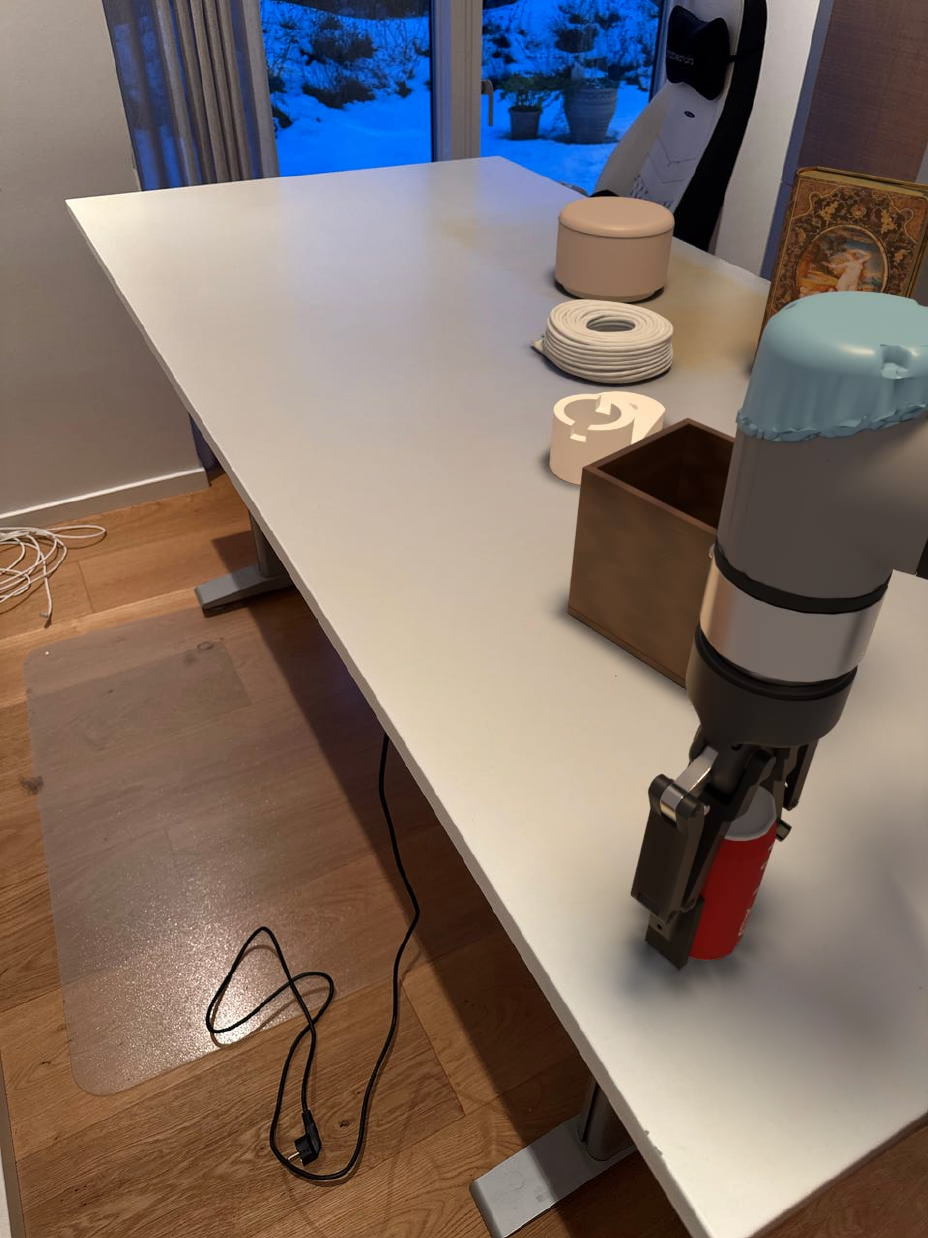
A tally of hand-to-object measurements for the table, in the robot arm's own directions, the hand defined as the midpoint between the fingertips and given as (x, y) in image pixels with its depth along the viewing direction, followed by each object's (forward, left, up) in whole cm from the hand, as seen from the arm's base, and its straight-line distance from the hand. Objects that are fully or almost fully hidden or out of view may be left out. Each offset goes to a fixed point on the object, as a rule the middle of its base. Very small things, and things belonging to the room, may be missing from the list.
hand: (697, 921), depth 58 cm
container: (+57, -103, -1) cm, 118 cm away
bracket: (+33, -54, -1) cm, 63 cm away
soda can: (0, 0, -1) cm, 1 cm away
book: (+18, -84, -1) cm, 86 cm away
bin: (+12, -28, -1) cm, 31 cm away
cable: (+44, -76, -1) cm, 88 cm away
